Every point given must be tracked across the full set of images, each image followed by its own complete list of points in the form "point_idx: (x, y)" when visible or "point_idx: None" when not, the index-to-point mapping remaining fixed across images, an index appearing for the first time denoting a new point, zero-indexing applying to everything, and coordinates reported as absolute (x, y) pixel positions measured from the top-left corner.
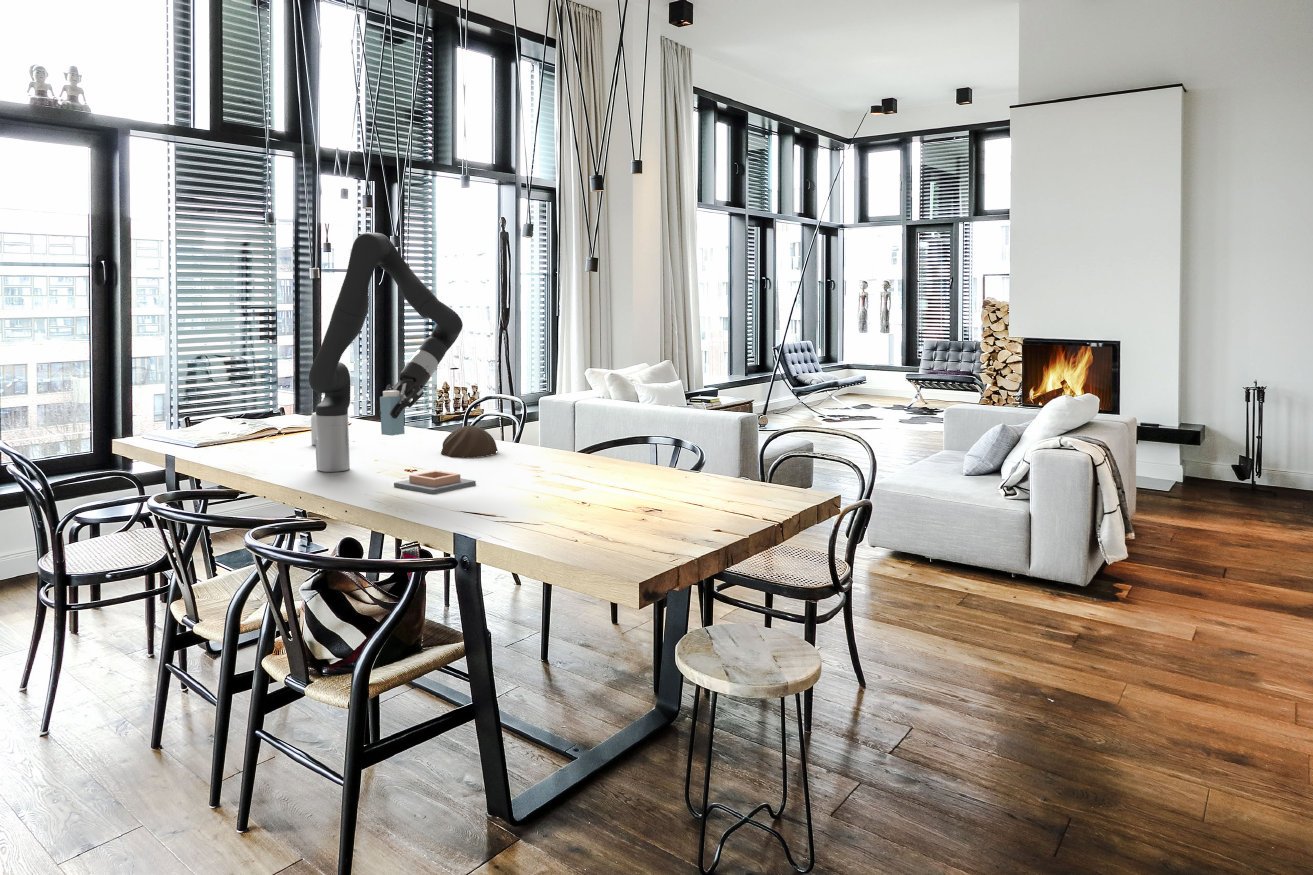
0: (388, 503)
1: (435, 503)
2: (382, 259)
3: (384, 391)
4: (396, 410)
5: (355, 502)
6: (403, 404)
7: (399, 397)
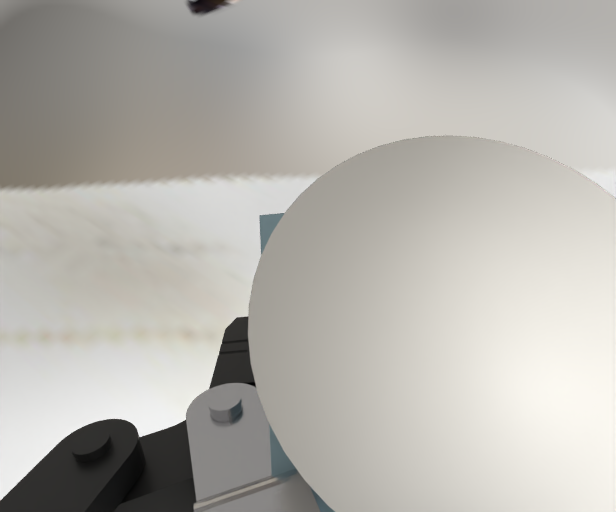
0: (142, 259)
1: (6, 366)
2: None
3: (523, 179)
4: (228, 342)
5: (236, 200)
6: (171, 442)
7: (273, 446)
